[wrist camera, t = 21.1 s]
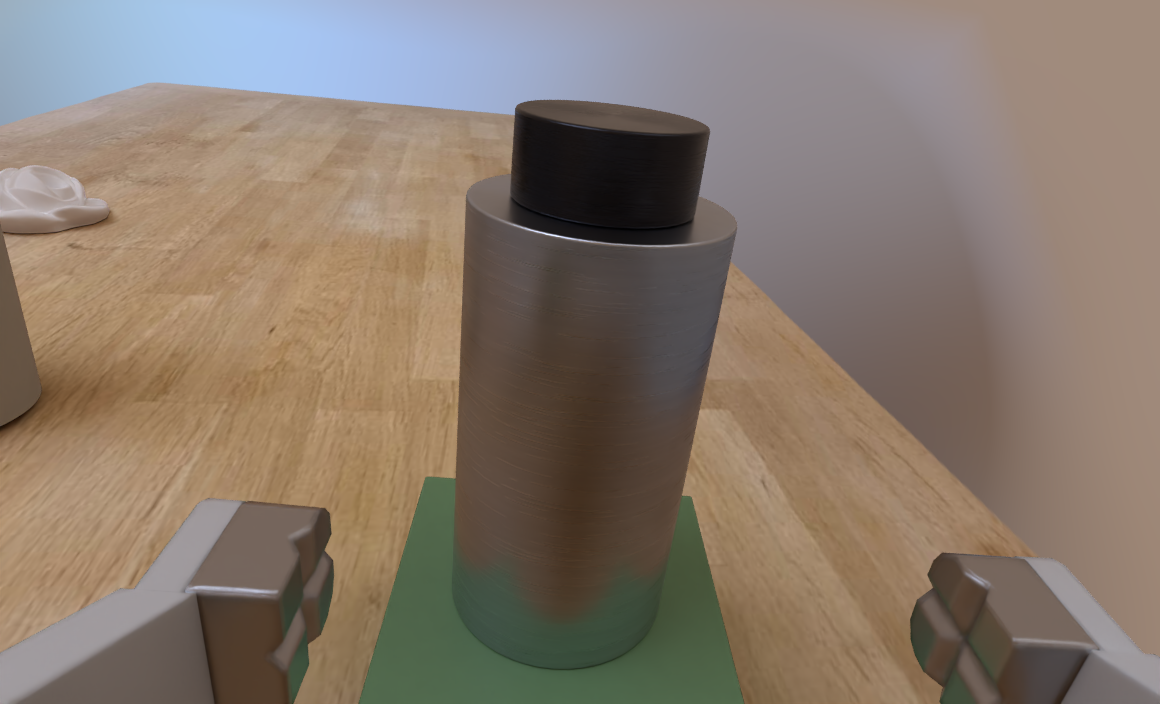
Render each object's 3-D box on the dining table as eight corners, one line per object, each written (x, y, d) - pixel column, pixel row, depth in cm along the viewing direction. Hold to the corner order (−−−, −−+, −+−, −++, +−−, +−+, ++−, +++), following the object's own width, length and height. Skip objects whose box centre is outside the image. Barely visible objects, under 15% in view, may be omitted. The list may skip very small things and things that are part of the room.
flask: (648, 524, 25) (725, 111, 19) (671, 677, 19) (791, 157, 13) (466, 510, 25) (486, 84, 19) (434, 662, 19) (448, 120, 13)
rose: (-21, 151, 61) (111, 154, 65) (-8, 202, 63) (120, 202, 67) (-63, 179, 53) (91, 181, 57) (-47, 237, 55) (101, 235, 59)
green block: (670, 594, 29) (692, 495, 27) (717, 857, 20) (755, 740, 18) (424, 577, 29) (425, 475, 26) (359, 841, 20) (353, 719, 17)
